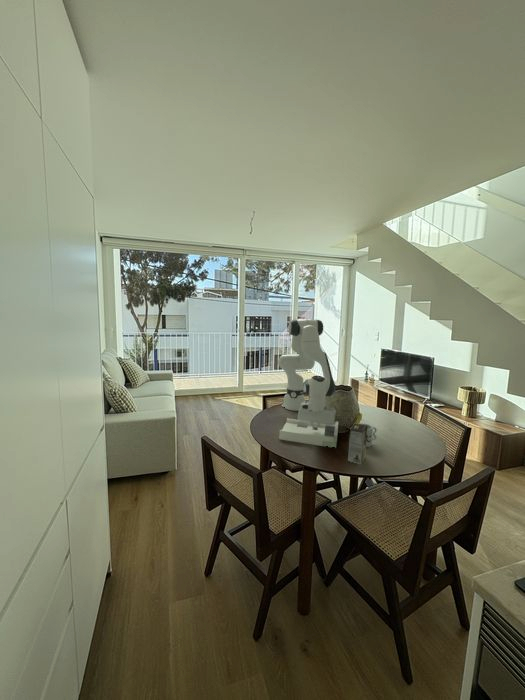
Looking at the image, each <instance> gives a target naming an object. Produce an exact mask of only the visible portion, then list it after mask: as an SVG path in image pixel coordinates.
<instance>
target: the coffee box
mask: <svg viewBox="0 0 525 700" xmlns="http://www.w3.org/2000/svg"><path fill="white" fill-rule="evenodd" d="M367 427H368V426H365V425H360V424H354V425H353V426H352V428H351V429H350V430H349V439H348V456H347V462H348V461H350V463H352V462H353V463H354V464H356V463H357V464H356V465H362V464H363V462H364V460H365V458H366V449H367V447H366V439H367Z"/></svg>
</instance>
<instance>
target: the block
mask: <svg viewBox="0 0 525 700" xmlns="http://www.w3.org/2000/svg"><path fill="white" fill-rule="evenodd" d="M334 430H335V426H330V425H326V426H325V435H326V436H333V437H334Z"/></svg>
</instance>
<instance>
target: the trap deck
mask: <svg viewBox="0 0 525 700" xmlns="http://www.w3.org/2000/svg"><path fill="white" fill-rule="evenodd" d="M313 424H314V426H318V423H315V422H314V423H313ZM326 425H329V424H322V423H320V426H319V427H318V430H313V427H312V425H311V422H307V421H300V420H298V419H295V418H288V417H287V418H286V423H285V424H284V426H283V427H282V429H279V433H278V435H279V436H278V437H279V438H278V439H279V440H281V441H288V442H295V443H300V444H307V445H314V446H321V447H326V446H328V447H327V448H332V447H335V448H334V449H337V442H338V434H339V433H338V431H339V421H335V423H334V424H333V425H330V426H335V430H334V437H333V436H326V435H325V426H326Z"/></svg>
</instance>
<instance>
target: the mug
mask: <svg viewBox="0 0 525 700" xmlns="http://www.w3.org/2000/svg"><path fill="white" fill-rule="evenodd" d="M359 424H360V425H365V426H368V427H367V439H366V448H370V447H372V445H373V441H375V440H376V439H377V434H376V433H377V431H378V429H377V428H376V427H375V426H372V425H371V424H368V423H363V422H362V423H361V422H360V423H359Z"/></svg>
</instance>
